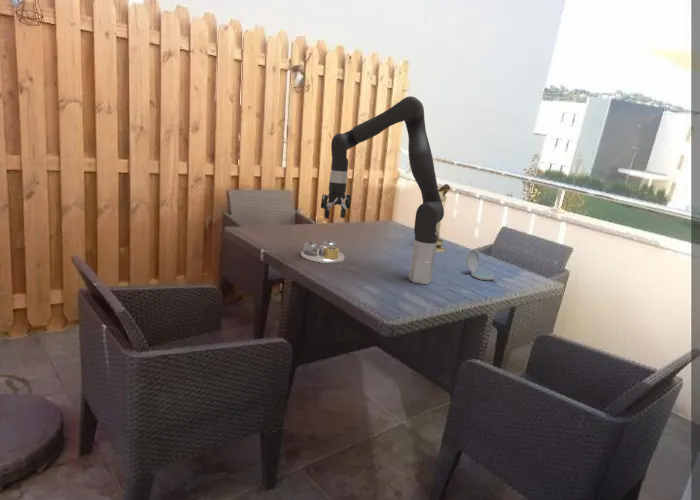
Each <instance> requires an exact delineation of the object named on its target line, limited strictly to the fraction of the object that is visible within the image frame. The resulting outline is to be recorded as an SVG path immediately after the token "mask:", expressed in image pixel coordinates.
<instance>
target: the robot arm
mask: <svg viewBox="0 0 700 500" xmlns="http://www.w3.org/2000/svg"><path fill="white" fill-rule="evenodd" d="M424 108H425V107H424V105H423V103H422V101H420V100H419V99H418V98H417V97H415V96H413V95H412V96H406V97H404V98H402V99H401V100H400V101H399V102H397V103H395V104H393V106H391V107H390V108H388V109H386V110H384V111H383V112H381V113H380V114H378V115H376V116H374V117H372V118H370V119H367V120H366V121H363V122H360V123H359V124H357V125H356V126H354V127H353V128H352V129H350V130H348V131H346V132H343V133H337V134H334V136H333V137H332V140H331V145H330V147H331V166H330V167H331V168H330V173H329V182H328V194H324V193H323V194H322V196H321V203H320V208H321V209H323V210H324V212H323V213H324V215H323V217H324V219H325V220H327V219H328V220H329V219H330V212H331V211H330V210H331V208H332V207H333V206H337V205H339V206H340V208H341V209H340V214H339V215H340V218H342V219H345V217H346V212H347V209H351V201H352V196H351V194H348V193H346V192H347V185H348V184H347V183H348V167H349V159H348V158H347V155H348V152H347V151H348V150H350V149H352V148H354V147H355V146H357V145H359V144H360V143H363V142H365V141H367V140H369V139H372V138H374V137H375V136H378V135H379V134H380V133H382V132H383V131H385V130H386V129H388V128H390V127H391V126H394V125H395V124H398V123H402V122H404V123H405V127H406V131H407V136H408V148H407V149H408V160H409V165H410V169H411V173H412V176H413V178H414V180H415V182H416V184H417V186H418V187H419V191H420V194H421V198H422V203H421V204H420V205H419V206H418V207H417V210H416V212H415V218H414V227H413V233H414V240H413V241H414V242H413V245H414V246H413V245H412V247H413V248H412V252H411V253H412V255H411V260H410V267H409V273H408V274H409V275H408V280H409V281H410V282H412V283H414V284H415V283H416V284H423V285H428V284H430V283H431V282H432V281H431V280H432V276H433V268H434V262H435V258H436V253H435V251H436V245H437V239H438V236H437V234H436V226H437V223H438V222H440V223H441V221H442V220H443V219H444V214H445V210H444V208H445V207H444V208H443V205H442V201H441V198H440V195H439V191H438V190H439V188H438V182H437V175H436V171H435V165H434V159H433V158H434V157H433V154H432V150H431V144H430V143H429V142H430V141H429V138H428V134H427V130H426V122H425V121H426V120H425V109H424Z"/></svg>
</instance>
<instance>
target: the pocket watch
mask: <svg viewBox="0 0 700 500" xmlns="http://www.w3.org/2000/svg"><path fill="white" fill-rule="evenodd" d="M479 264H480V257H479V253H478V251H476V250H474V249H472V250H469V251H468V253H467V254H466V258H465V265H466V267H467V269H468V270H469V271H470V274H471V275H470V276H471V277H472V278H474V279H475V280H476V279H477V280H480V281H486V282H488V281H489V282H490V281H493V282H496V281H497V279H496V278H495V277H494V275H493V274H492V273H490V272H488V271H483V270H478V268H479Z"/></svg>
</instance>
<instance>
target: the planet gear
mask: <svg viewBox="0 0 700 500" xmlns="http://www.w3.org/2000/svg"><path fill="white" fill-rule="evenodd" d="M330 247H331V246H329V247H325V253H324V258H325V259H328V260H337V259H338V255H339V252H340V248H339V247H336V246H335V247H334V249H330Z"/></svg>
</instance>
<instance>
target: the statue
mask: <svg viewBox="0 0 700 500" xmlns="http://www.w3.org/2000/svg"><path fill="white" fill-rule="evenodd" d="M450 190H451V187H450V185H449V184H448V183H446V184H444V185H442V186H441V187H440V188H438V191H439V195H440V198H441V201H442V205H443V208H445V205H446V202H447V196H446V195H447V193H448V192H449V191H450ZM441 226H442V225H441V221H440V222H438V223H437V225H436V235H437V236H438V239H437V245H436V251H435V254H436V253H444V252H445V251H446V250H447V248H446V247H444V246H442V245H443V243H444V241H445V239H443V238H442V237H441V236H440V231H441V230H440V228H441ZM413 246H414V244H413V245H412V247H413ZM444 250H445V251H444Z"/></svg>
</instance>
